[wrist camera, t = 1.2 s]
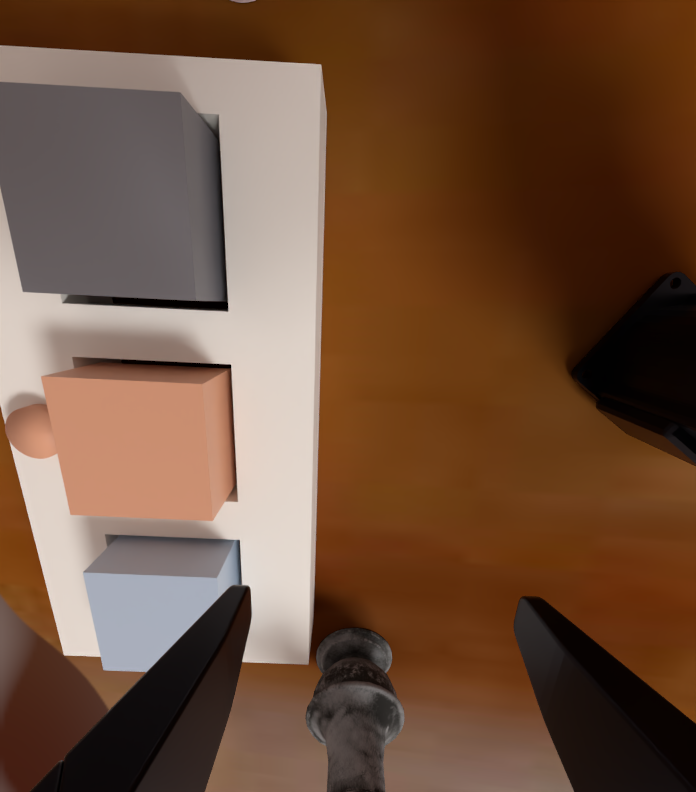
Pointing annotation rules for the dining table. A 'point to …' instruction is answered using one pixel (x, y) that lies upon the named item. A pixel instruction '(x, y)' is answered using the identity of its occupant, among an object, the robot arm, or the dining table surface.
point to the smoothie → (243, 1)
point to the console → (195, 340)
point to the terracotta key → (143, 439)
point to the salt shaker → (354, 709)
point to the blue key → (154, 593)
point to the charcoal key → (111, 192)
